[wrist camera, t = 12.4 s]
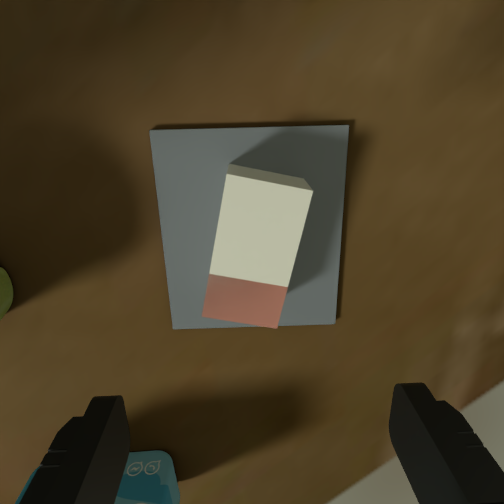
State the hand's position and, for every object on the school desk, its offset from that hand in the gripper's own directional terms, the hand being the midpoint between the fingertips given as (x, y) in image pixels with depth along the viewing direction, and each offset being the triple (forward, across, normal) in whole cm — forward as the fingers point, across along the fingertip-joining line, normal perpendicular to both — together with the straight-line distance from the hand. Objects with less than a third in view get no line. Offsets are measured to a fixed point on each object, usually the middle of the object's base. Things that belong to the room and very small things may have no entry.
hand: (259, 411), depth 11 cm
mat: (+16, 0, 0) cm, 16 cm away
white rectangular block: (+15, 0, 0) cm, 15 cm away
